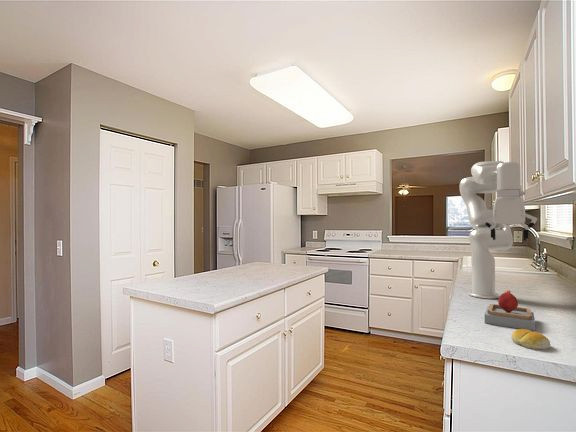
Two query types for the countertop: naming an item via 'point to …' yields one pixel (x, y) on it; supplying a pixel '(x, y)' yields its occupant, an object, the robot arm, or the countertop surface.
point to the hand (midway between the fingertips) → (509, 240)
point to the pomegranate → (508, 302)
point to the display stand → (510, 317)
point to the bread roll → (530, 339)
